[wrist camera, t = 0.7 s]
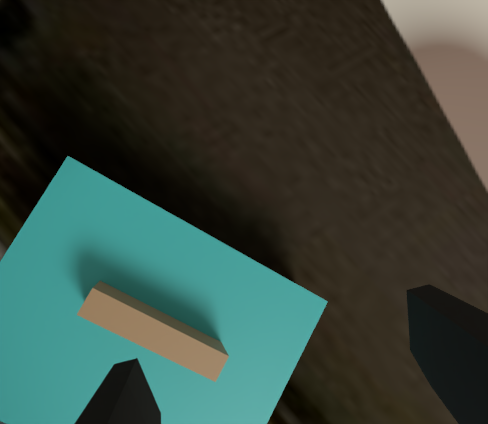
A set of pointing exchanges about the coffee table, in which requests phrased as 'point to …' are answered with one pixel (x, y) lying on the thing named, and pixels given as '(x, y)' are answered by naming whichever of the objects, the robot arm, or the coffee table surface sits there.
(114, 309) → the lid
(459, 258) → the coffee table surface
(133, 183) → the coffee table surface
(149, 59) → the coffee table surface
